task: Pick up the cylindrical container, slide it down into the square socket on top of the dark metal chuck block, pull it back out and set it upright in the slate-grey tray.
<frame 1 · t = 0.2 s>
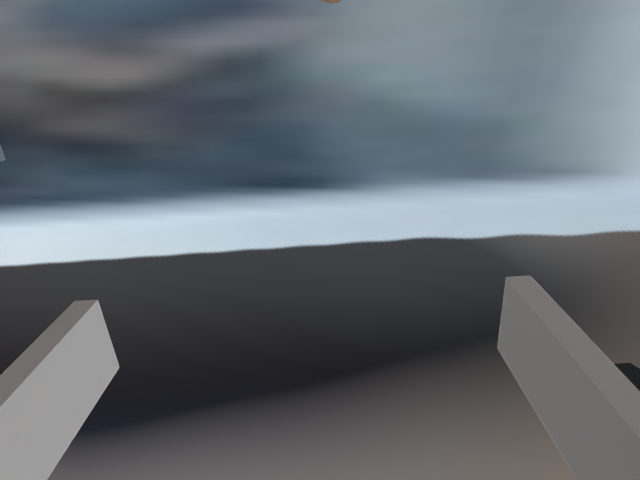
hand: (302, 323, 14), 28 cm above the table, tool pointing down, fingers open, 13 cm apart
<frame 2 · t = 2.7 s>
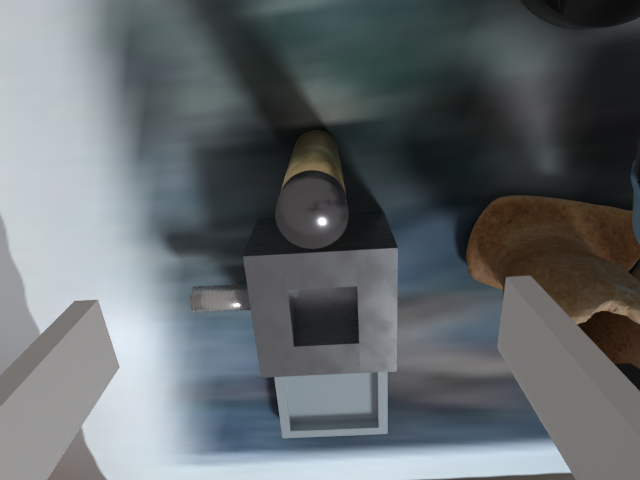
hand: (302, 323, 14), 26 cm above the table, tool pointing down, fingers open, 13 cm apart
chuck: (324, 272, 43), on the table
tray: (331, 381, 48), on the table
stone cup: (536, 250, 42), on the table
cylindrical container: (316, 152, 38), on the table
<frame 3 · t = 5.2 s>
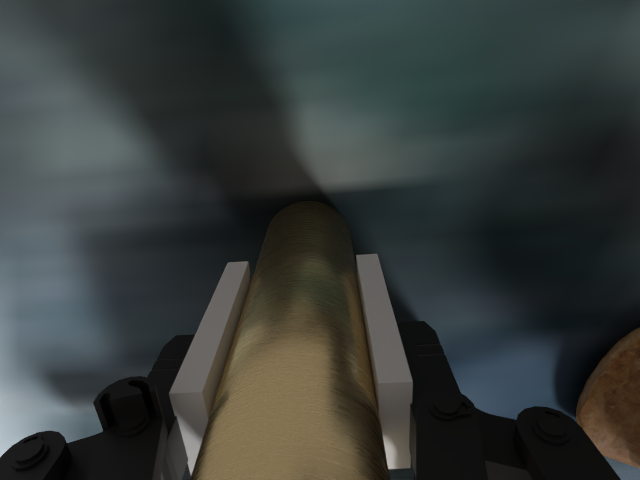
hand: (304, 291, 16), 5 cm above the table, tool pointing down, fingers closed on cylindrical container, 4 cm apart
chuck: (324, 428, 25), on the table
cylindrical container: (308, 240, 20), on the table, touching gripper
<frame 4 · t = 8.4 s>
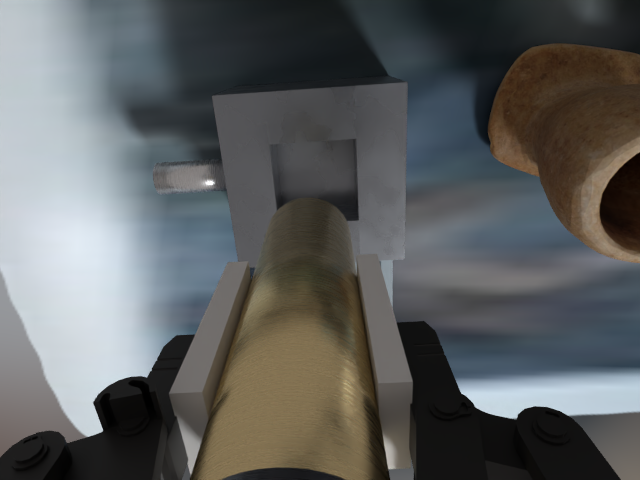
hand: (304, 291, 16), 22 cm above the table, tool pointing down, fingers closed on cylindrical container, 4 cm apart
chuck: (317, 156, 36), on the table
tray: (327, 299, 41), on the table
stone cup: (572, 127, 35), on the table
cylindrical container: (308, 237, 20), point 17 cm above the table, touching gripper
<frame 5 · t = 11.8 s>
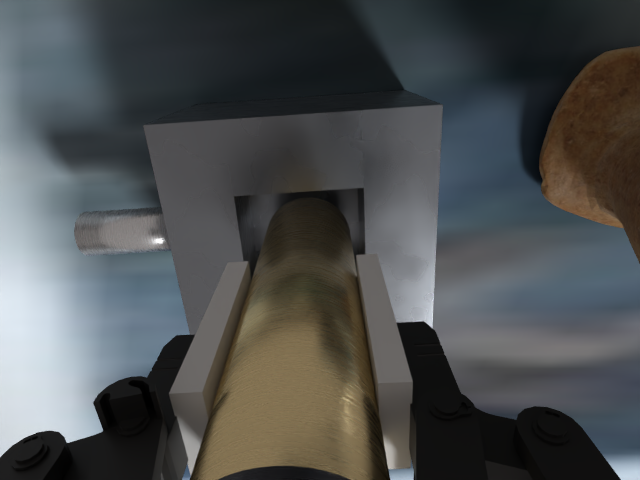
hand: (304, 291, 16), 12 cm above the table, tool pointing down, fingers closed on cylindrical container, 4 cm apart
chuck: (307, 197, 27), on the table
cylindrical container: (308, 237, 20), point 7 cm above the table, touching gripper
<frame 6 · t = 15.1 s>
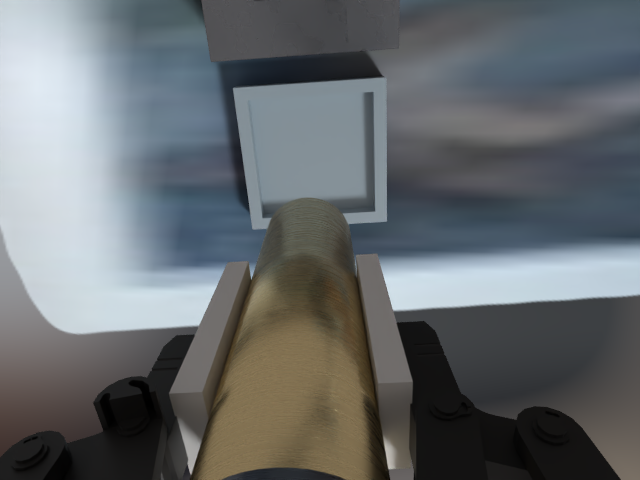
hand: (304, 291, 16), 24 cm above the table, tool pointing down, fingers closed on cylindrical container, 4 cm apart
tray: (315, 153, 38), on the table
cylindrical container: (308, 237, 20), point 19 cm above the table, touching gripper
when the fingers open (7 cm above the table, at t = 18.2 s): cylindrical container drops 1 cm, resting on tray.
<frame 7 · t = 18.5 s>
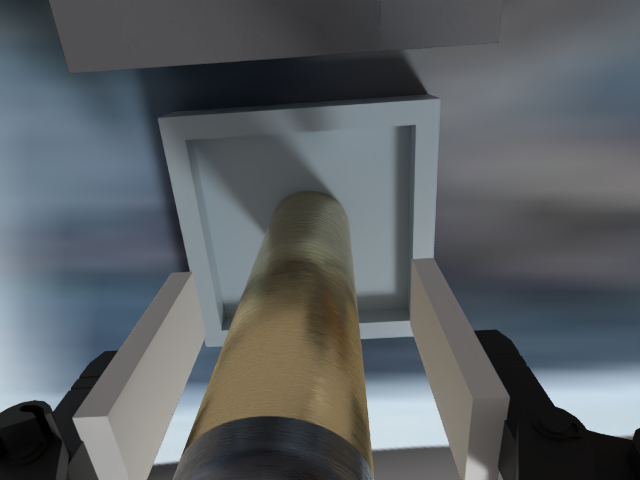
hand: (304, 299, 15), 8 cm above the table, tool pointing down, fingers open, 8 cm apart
tray: (309, 221, 22), on the table
cylindrical container: (309, 228, 21), point 1 cm above the table, touching tray
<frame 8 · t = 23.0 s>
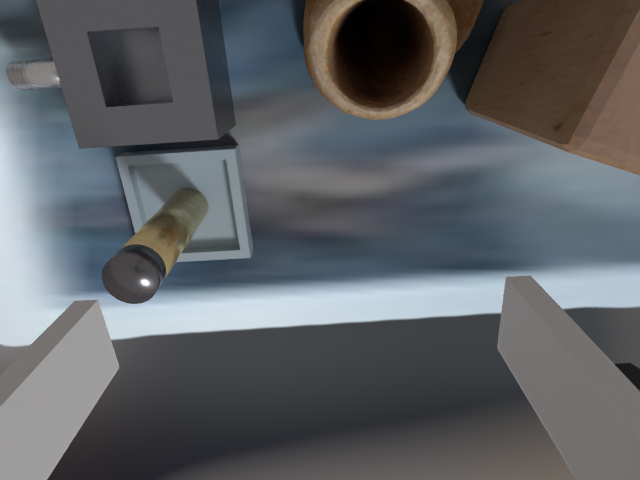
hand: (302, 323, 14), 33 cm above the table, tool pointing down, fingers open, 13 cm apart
chuck: (165, 65, 41), on the table
tray: (192, 203, 47), on the table
stone cup: (382, 38, 40), on the table
cylindrical container: (189, 205, 46), point 1 cm above the table, touching tray
wooden block: (526, 73, 41), on the table
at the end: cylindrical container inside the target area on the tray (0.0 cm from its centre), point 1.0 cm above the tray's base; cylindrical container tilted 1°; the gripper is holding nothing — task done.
